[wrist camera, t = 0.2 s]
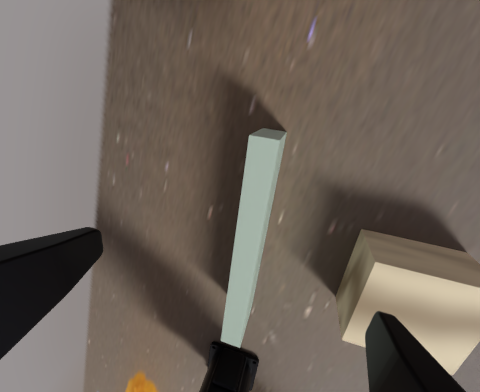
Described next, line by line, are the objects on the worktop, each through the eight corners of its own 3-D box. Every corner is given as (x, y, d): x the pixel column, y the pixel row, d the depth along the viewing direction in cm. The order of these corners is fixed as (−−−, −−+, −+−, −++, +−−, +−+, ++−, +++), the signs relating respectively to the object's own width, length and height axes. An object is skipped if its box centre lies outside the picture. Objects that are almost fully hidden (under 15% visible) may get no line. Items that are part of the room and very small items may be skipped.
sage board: (251, 307, 27) (240, 348, 22) (235, 302, 27) (220, 340, 23) (286, 131, 19) (279, 140, 15) (263, 128, 19) (249, 135, 15)
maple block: (423, 320, 22) (452, 375, 17) (335, 295, 24) (341, 339, 19) (465, 250, 19) (514, 296, 14) (360, 227, 20) (375, 262, 16)
